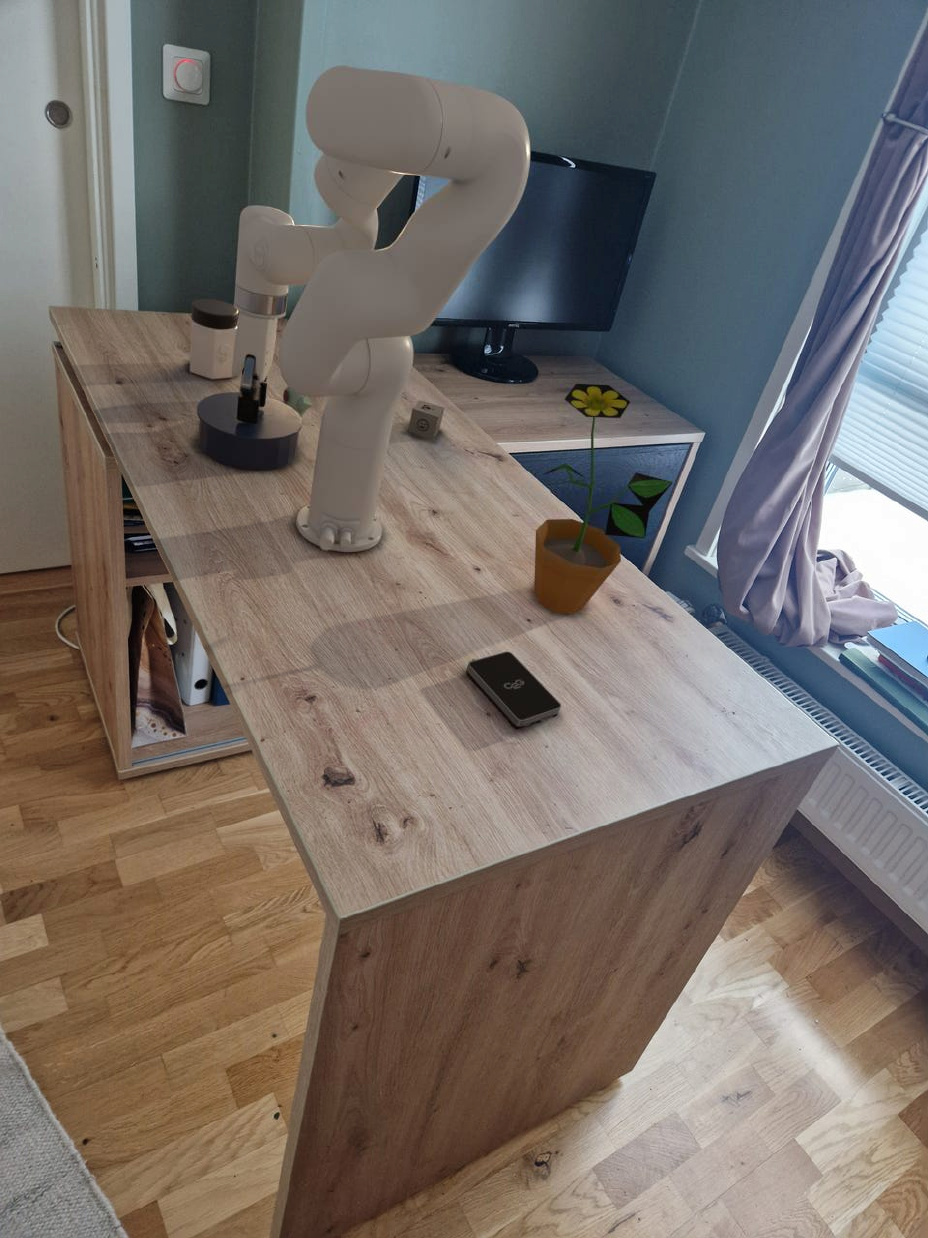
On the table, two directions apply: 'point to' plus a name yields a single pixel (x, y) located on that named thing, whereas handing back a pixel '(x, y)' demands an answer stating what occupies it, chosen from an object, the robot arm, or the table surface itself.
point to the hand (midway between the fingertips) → (251, 411)
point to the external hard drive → (513, 690)
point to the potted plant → (576, 550)
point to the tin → (247, 450)
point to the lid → (271, 424)
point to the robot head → (296, 401)
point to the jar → (212, 338)
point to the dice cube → (426, 419)
